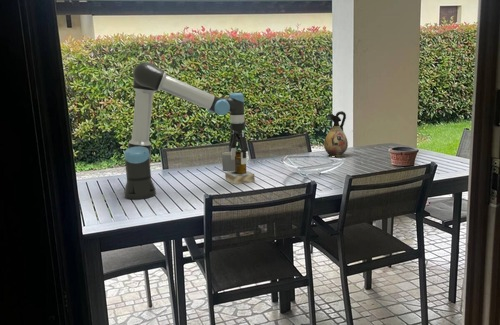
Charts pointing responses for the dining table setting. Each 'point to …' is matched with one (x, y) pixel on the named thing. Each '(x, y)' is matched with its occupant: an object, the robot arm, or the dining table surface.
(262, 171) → the dining table surface
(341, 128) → the ceramic jug
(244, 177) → the plinth
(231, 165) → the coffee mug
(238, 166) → the condiment
